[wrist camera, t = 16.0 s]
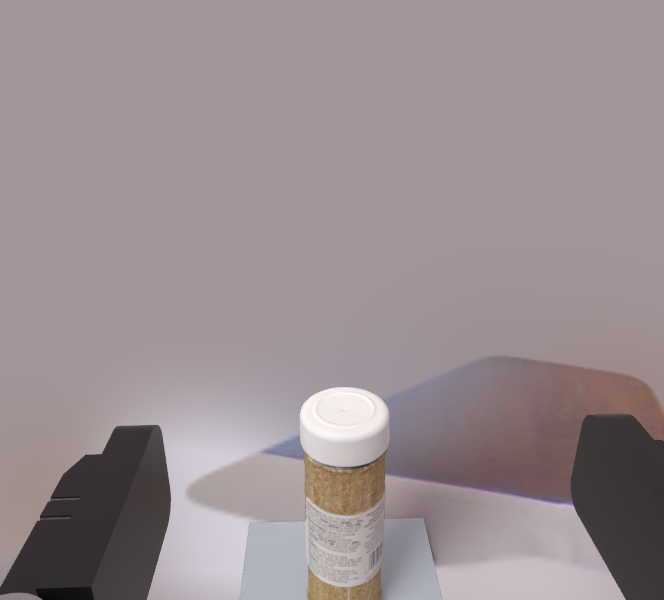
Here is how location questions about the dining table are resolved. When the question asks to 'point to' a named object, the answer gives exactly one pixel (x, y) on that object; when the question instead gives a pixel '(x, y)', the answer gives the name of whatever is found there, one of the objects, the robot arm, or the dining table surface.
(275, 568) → the pad
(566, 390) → the dining table surface
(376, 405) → the sprinkles bottle
